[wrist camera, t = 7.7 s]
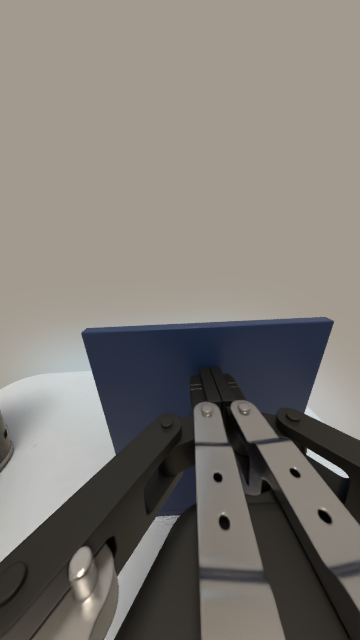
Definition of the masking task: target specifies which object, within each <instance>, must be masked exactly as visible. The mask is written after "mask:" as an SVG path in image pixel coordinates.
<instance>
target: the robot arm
mask: <svg viewBox="0 0 360 640" xmlns="http://www.w3.org/2000/svg"><path fill="white" fill-rule="evenodd" d="M190 400H191V409H192V412H191V413H190V414H189V415H188V416H186V417H183V418H181V419H180V418H179V417H178V416H177V415H175V414H171V413H166V414H162V415H160V416H158V417H157V418H156V419H155V420H154V421H153V422H152V423H150V424H149V425H148V426H147V427H146V428H145V429H144V430H143V431H142V432H141V433H140V434H139V435H138V436H136V437H135V438H134V439H133V440H132V441H131V442H130V443H129V444H128V445H127V446H126V447H125V448H123V449H122V450H121V451H120V452H119V453H118V454H117V455H116V456H115V457H114V458H113V459H112V460H110V461H109V462H108V463H107V464H106V465H105V466H104V467H103V468H102V469H101V470H100V471H99V472H97V473H96V474H95V475H94V476H93V477H92V478H91V479H90V480H89V481H88V482H87V483H86V484H85V485H83V486H82V487H81V488H80V489H79V490H78V491H77V492H76V493H75V494H74V495H73V496H72V497H70V498H69V499H68V500H67V501H66V502H65V503H64V504H63V505H62V506H61V507H60V508H59V509H57V510H56V511H55V512H54V513H53V514H52V515H51V516H50V517H49V518H48V519H47V520H46V521H44V522H43V523H42V524H41V525H40V526H39V527H38V528H37V529H36V530H35V531H34V532H33V533H32V534H30V535H29V536H28V537H27V538H26V539H25V540H24V541H23V542H22V543H21V544H20V545H19V546H17V547H16V548H15V549H14V550H13V551H12V552H11V553H10V554H9V555H8V556H7V557H6V558H5V559H4V560H3V561H1V562H0V640H104V639H105V637H106V635H107V632H108V630H109V628H110V626H111V624H112V621H113V618H114V615H115V612H116V608H117V603H118V595H119V585H118V579H117V576H118V575H119V573H120V571H121V570H122V568H123V567H124V565H125V564H126V562H127V561H128V559H129V557H130V556H131V554H132V553H133V551H134V550H135V548H136V547H137V545H138V544H139V542H140V540H141V539H142V537H143V536H144V534H145V533H146V531H147V530H148V528H149V527H150V525H151V523H152V522H153V520H154V519H155V517H156V516H157V514H158V513H159V511H160V509H161V508H162V506H163V505H164V503H165V502H166V500H167V499H168V497H169V496H170V494H171V492H172V491H173V489H174V488H175V486H176V485H177V483H178V482H179V480H180V478H181V477H182V475H183V471H185V470H187V469H189V468H191V467H193V466H195V475H196V503H195V504H193V505H192V506H190V507H189V508H188V509H186V510H185V511H184V512H183V513H182V514H181V515H180V517H179V518H178V519H177V521H176V522H175V524H174V525H173V527H172V528H171V530H170V532H169V534H168V536H167V538H166V540H165V542H164V544H163V546H162V548H161V549H160V551H159V553H158V555H157V557H156V559H155V561H154V563H153V565H152V567H151V569H150V571H149V573H148V575H147V577H146V579H145V581H144V582H143V584H142V586H141V588H140V590H139V592H138V594H137V596H136V598H135V600H134V602H133V604H132V606H131V608H130V610H129V611H128V613H127V615H126V617H125V619H124V621H123V623H122V625H121V627H120V629H119V631H118V633H117V635H116V637H115V639H114V640H360V440H358V439H355V438H353V437H351V436H349V435H347V434H345V433H343V432H341V431H339V430H337V429H335V428H332V427H330V426H328V425H326V424H324V423H322V422H320V421H318V420H316V419H314V418H312V417H310V416H308V415H306V414H303V413H301V412H299V411H297V410H295V409H291V408H280V409H278V410H277V413H276V415H273V414H268V413H263V412H260V411H259V410H258V408H257V407H256V406H255V405H254V404H252V403H251V402H249V401H247V400H246V398H245V397H244V395H243V393H242V391H241V390H240V388H239V387H238V385H237V383H236V381H235V379H234V378H233V377H232V376H231V375H229V374H223V372H222V370H221V368H220V367H206V368H199V369H198V375H192V376H191V378H190ZM6 426H7V424H6ZM6 426H5V423H4V420H3V417H2V414H1V411H0V470H1V469H2V468H3V467H4V466H5V465H6V463H7V462H8V460H9V459H10V457H11V455H12V453H13V444H12V441H11V440H10V438H9V432H8V427H7V429H6ZM227 437H228V439H229V444H228V441H227ZM307 448H308V449H310V450H311V451H313V452H315V453H316V454H318V455H320V456H321V457H323V458H325V459H326V460H328V461H329V462H331V463H333V464H334V465H336V466H338V467H339V468H341V469H342V470H343V471H344V472H345V473H346V474H347V475H348V476H349V478H343V477H341V476H339V475H337V474H336V473H334V472H333V471H331V470H330V469H328V468H326V467H325V466H323V465H322V464H320V463H318V462H317V461H315V460H314V459H312V458H310V457H309V456H307V455H306V452H307ZM242 485H243V487H242ZM243 488H244V490H245V493H244V491H243Z"/></svg>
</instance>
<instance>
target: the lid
mask: <svg viewBox="0 0 360 640" xmlns="http://www.w3.org/2000/svg"><path fill="white" fill-rule="evenodd" d="M333 323H334V321H332V320H331V319H328V318H326V317H315V318H295V319H274V320H253V321H230V322H209V323H188V324H167V325H145V326H124V327H104V328H86V329H85V330H84V331H83V332H82V333H81V334H82V338H83V341H84V345H85V348H86V352H87V355H88V359H89V362H90V366H91V369H92V373H93V376H94V380H95V383H96V387H97V390H98V394H99V397H100V401H101V404H102V408H103V411H104V415H105V418H106V422H107V425H108V429H109V432H110V436H111V439H112V443H113V446H114V450H115V453H116V455H117V454H118V453H119V452H120V451H121V450H122V449H123V448H125V447H126V446H127V445H128V444H129V443H130V442H131V441H132V440H133V439H134V438H135V437H136V436H138V435H139V434H140V433H141V432H142V431H143V430H144V429H145V428H146V427H147V426H148V425H149V424H150V423H152V422H153V421H154V420H155V419H156V418H157V417H158V416H160V415H162V414H166V413H171V414H175V415H177V416H178V417H179V418H180V419H181V418H183V417H186V416H188V415H189V414H190V413H191V412H192V409H191V400H190V378H191V376H192V375H198V369H199V368H206V367H220V368H221V370H222V372H223V374H229V375H231V376H232V377H233V378H234V379H235V381H236V383H237V385H238V387H239V388H240V390H241V391H242V393H243V395H244V397H245V398H246V400H247V401H249V402H251V403H252V404H254V405H255V406H256V407H257V408H258V410H259V411H260V412H263V413H268V414H273V415H276V413H277V410H278V409H280V408H291V409H295V410H297V411H299V412H301V413H303V414H304V412H305V409H306V406H307V403H308V400H309V397H310V394H311V390H312V387H313V384H314V381H315V378H316V375H317V372H318V369H319V366H320V363H321V360H322V357H323V354H324V351H325V348H326V345H327V342H328V338H329V336H330V333H331V330H332V326H333ZM227 441H228V444H229V439H228V437H227Z"/></svg>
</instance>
